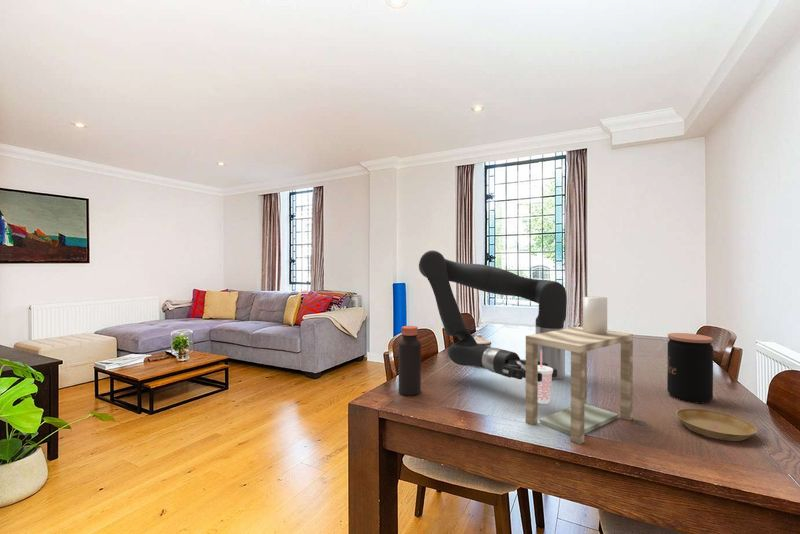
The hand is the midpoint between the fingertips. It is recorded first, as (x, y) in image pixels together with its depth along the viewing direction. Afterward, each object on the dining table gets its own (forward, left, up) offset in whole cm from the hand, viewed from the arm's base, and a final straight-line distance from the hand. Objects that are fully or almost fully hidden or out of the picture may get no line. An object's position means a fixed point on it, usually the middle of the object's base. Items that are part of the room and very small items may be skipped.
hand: (548, 375), depth 102 cm
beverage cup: (0, -3, -8) cm, 8 cm away
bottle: (+23, -32, -9) cm, 41 cm away
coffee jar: (-42, +18, -9) cm, 47 cm away
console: (0, +9, -9) cm, 13 cm away
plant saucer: (-21, +30, -10) cm, 38 cm away
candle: (-7, +9, +12) cm, 17 cm away
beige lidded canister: (-19, -44, -9) cm, 49 cm away
